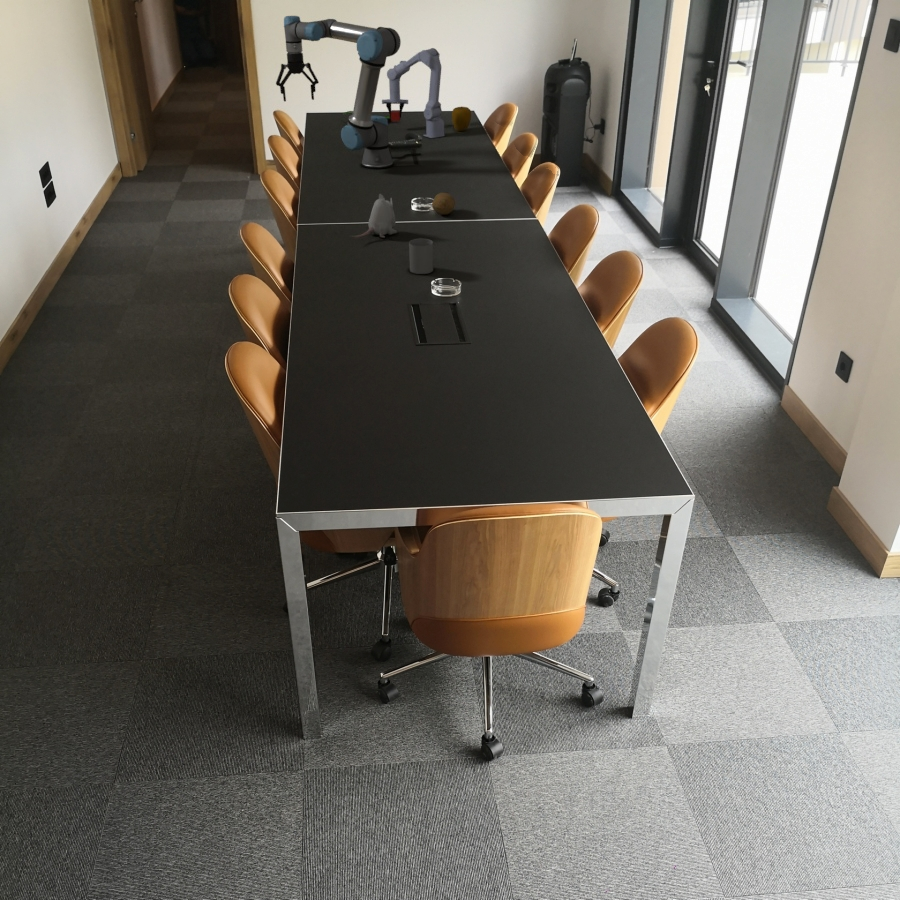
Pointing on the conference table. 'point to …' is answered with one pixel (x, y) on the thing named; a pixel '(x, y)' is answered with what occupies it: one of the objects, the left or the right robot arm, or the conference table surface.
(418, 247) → the cup
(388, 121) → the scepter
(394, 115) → the brick
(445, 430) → the conference table surface
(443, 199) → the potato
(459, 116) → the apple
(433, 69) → the right robot arm
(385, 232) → the toy
